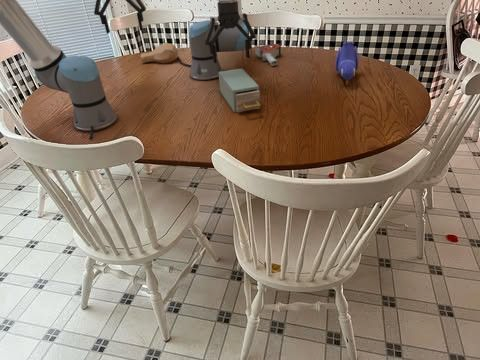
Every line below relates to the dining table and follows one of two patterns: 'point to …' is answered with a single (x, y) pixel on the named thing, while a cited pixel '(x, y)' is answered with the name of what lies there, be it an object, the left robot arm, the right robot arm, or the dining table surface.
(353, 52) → the toy
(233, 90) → the cabinet
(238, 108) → the drawer
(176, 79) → the dining table surface
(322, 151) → the dining table surface
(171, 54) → the squash
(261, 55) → the tape dispenser
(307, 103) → the dining table surface
